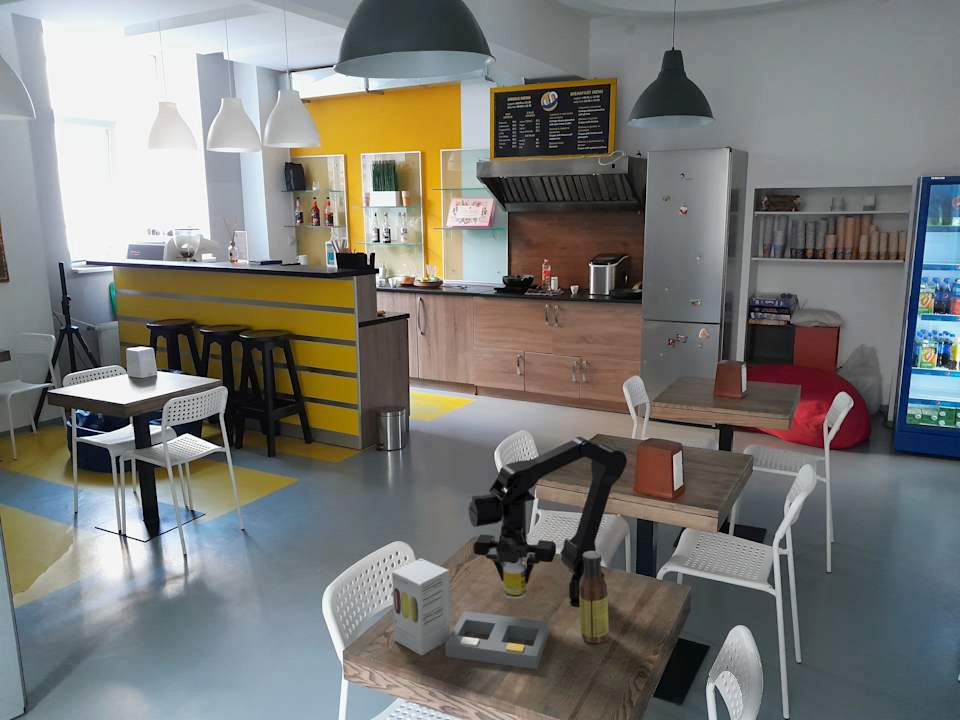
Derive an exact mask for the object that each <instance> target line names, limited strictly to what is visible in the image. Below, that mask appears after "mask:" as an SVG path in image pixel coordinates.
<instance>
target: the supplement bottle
mask: <svg viewBox="0 0 960 720" xmlns="http://www.w3.org/2000/svg"><path fill="white" fill-rule="evenodd" d="M526 568H527V564H525V562H524V557H522V558H519V560H518V562H517V563H510V562H504V566H503V581H502V583H503V594H504V596H505V598H508V599H511V600H513V599H514V600H518V599H522V598H524V597H525V596H526V594H527V584H526V581H525V577H526Z"/></svg>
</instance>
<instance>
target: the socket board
mask: <svg viewBox="0 0 960 720" xmlns="http://www.w3.org/2000/svg"><path fill="white" fill-rule="evenodd" d="M549 627H550V622H549V621H547V620H537V619H531V618H530V619H529V618H521V617H514V616H507V615H498V614H490V613H484V612H474V611H467V610H464V611H463V612H462V614H461V615H460V618H459V619H458V621H457V623H456V624H455V626H454V628H453V630H452V631H451V635H450V636H449V638H448V640H447V641H446V642H444V643H445V645H444V646H445V657H447V658H454V659H461V660H462V659H463V660H466V661H468V660H469V661H475V662H481V663H489V664H497V665H504V666H509V667H515V668H516V667H517V668H524V669H531V670H538V667H539V665H540V661H541V659H542V655H543V652H544V649H545V647H546V644H547V640H548V638H549V635H550V634H549V633H550V629H549ZM466 633H473V634H481V635H489V637H488V639H481V638H476V637H467V636H465V634H466ZM509 638H511V639H512V638H513V639H520V640H526V641H527V640H528V641H534V643H533V645H527V644H521V643H514V642H513V643H512V642H508V640H509Z"/></svg>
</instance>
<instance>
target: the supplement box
mask: <svg viewBox="0 0 960 720" xmlns="http://www.w3.org/2000/svg"><path fill="white" fill-rule="evenodd" d="M391 581H392V609H393V610H392V611H393V634H394V635H393V638H394V642H397V643H398V644H400V645H402V646H404V647H405V648H407V649H409V650H411V651H412V652H414V653H416V654H417V655H420V656H424V655H426V654H427V653H429V652H431V651H432V650H434V649H435V648H438V647H439V646H441V645H443V644H444V643H446V642H447V640H448V638H449V636H450V635H451V633H452V631H451V599H450V598H451V597H450V595H451V593H450V592H451V590H450V588H451V587H450V570H449V569H448V568H445V567H442V566H441V565H440V566H439V565H437V564H435V563H433V562H430V561H429V560H426V559H424V558H421V557H420V558H419V559H416V560H415V561H414V560H413V561H412V562H410V563H407V564H406V565H403V566H401V567H398V568H397V569H395V570H393V571H392V572H391Z"/></svg>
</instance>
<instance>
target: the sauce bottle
mask: <svg viewBox="0 0 960 720" xmlns="http://www.w3.org/2000/svg"><path fill="white" fill-rule="evenodd" d="M583 561H584V574H583V575H582V577H581V579H580V581H579V588H580V593H579V600H580V606H579V621H580V622H579V623H580V624H579V626H580V634H581V637H582V639H583V640H584V641H585V642H588V643H591V644H602V643H604V642H606V641H607V640H608V637H609V631H610V630H609V604H608V603H609V602H608V601H609V599H608V596H609V595H608V588H607V587H608V586H607V583H606V581H605V579H604V578H603V576H602V574H601V572H602V568H601V565H602V564H601V563H602V554H601V553H600V552H599V551H597V550H596V551H587V552H585V553H584V554H583Z"/></svg>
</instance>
